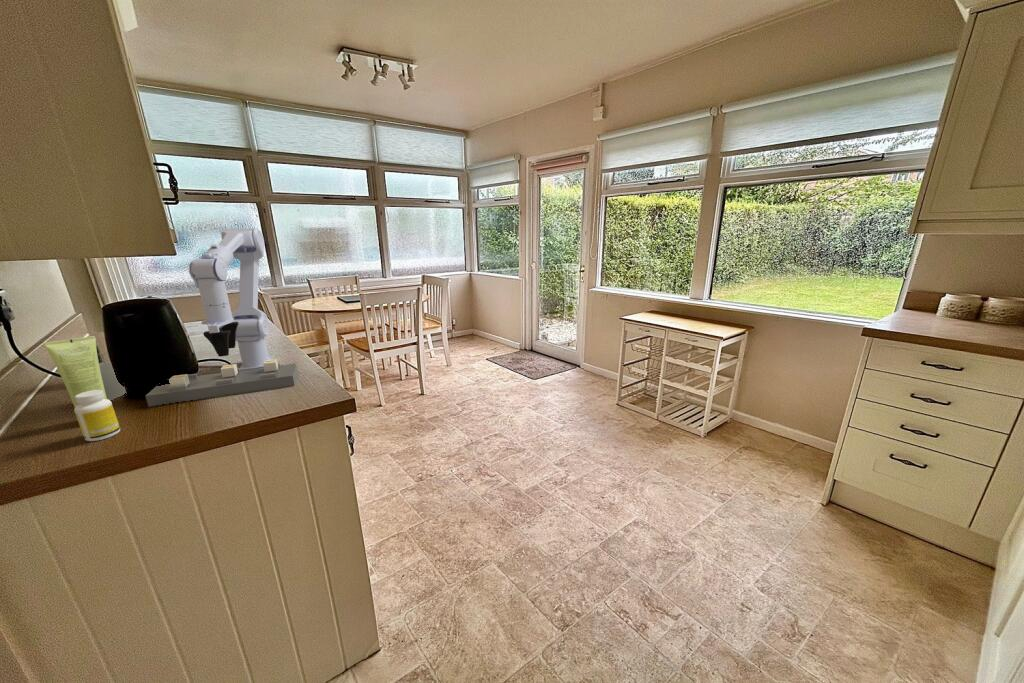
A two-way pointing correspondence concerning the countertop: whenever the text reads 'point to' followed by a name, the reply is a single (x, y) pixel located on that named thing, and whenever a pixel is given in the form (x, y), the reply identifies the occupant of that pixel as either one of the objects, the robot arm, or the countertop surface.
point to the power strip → (224, 385)
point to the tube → (77, 365)
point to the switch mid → (229, 370)
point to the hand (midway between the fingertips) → (227, 351)
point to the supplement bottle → (96, 416)
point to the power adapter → (110, 381)
